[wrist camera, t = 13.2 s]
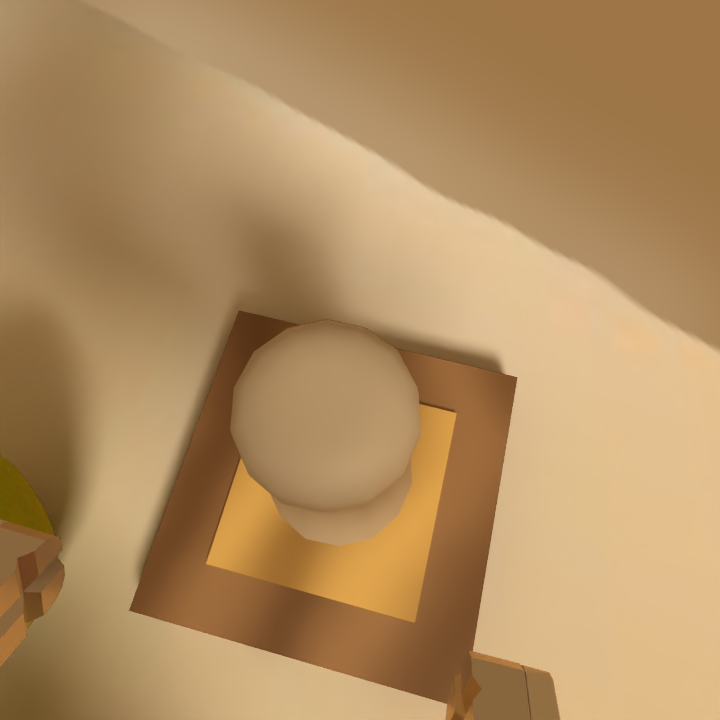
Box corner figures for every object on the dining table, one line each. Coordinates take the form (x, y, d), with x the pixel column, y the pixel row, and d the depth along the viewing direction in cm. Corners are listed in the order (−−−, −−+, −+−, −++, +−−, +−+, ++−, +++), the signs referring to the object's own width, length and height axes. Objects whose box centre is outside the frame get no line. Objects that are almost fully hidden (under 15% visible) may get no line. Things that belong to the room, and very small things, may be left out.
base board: (143, 606, 23) (127, 611, 21) (245, 322, 27) (238, 308, 26) (456, 697, 22) (463, 710, 20) (508, 386, 26) (518, 376, 24)
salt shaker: (329, 574, 22) (290, 621, 9) (250, 466, 23) (126, 384, 11) (433, 484, 23) (522, 420, 10) (352, 387, 24) (346, 231, 12)
